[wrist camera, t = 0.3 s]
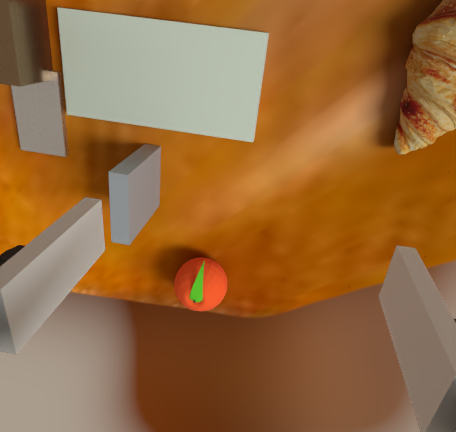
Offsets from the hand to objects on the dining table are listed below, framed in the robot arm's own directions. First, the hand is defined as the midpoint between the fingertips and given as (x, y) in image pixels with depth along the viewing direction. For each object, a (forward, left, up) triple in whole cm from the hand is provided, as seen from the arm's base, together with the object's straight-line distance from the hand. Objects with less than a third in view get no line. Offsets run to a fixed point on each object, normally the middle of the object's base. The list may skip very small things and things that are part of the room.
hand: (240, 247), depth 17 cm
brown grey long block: (-1, -28, -28) cm, 39 cm away
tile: (+9, -14, -28) cm, 32 cm away
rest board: (-3, -13, -28) cm, 31 cm away
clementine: (+21, -6, -28) cm, 36 cm away
